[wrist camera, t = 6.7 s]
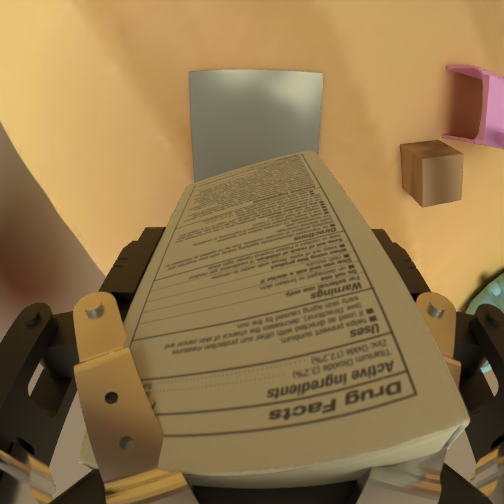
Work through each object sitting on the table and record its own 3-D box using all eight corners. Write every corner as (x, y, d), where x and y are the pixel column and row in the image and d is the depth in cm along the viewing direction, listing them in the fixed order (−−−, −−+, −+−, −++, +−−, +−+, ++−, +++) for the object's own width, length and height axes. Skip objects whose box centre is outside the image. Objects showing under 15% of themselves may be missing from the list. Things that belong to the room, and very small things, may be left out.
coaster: (321, 73, 24) (323, 73, 23) (313, 189, 30) (314, 192, 30) (190, 71, 24) (189, 71, 23) (196, 188, 30) (195, 190, 30)
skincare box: (217, 256, 16) (182, 509, 6) (184, 180, 13) (63, 460, 3) (336, 226, 15) (420, 482, 5) (318, 141, 12) (481, 425, 2)
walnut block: (437, 139, 26) (463, 153, 22) (438, 181, 29) (461, 199, 25) (399, 144, 27) (422, 159, 23) (402, 187, 30) (422, 207, 26)
